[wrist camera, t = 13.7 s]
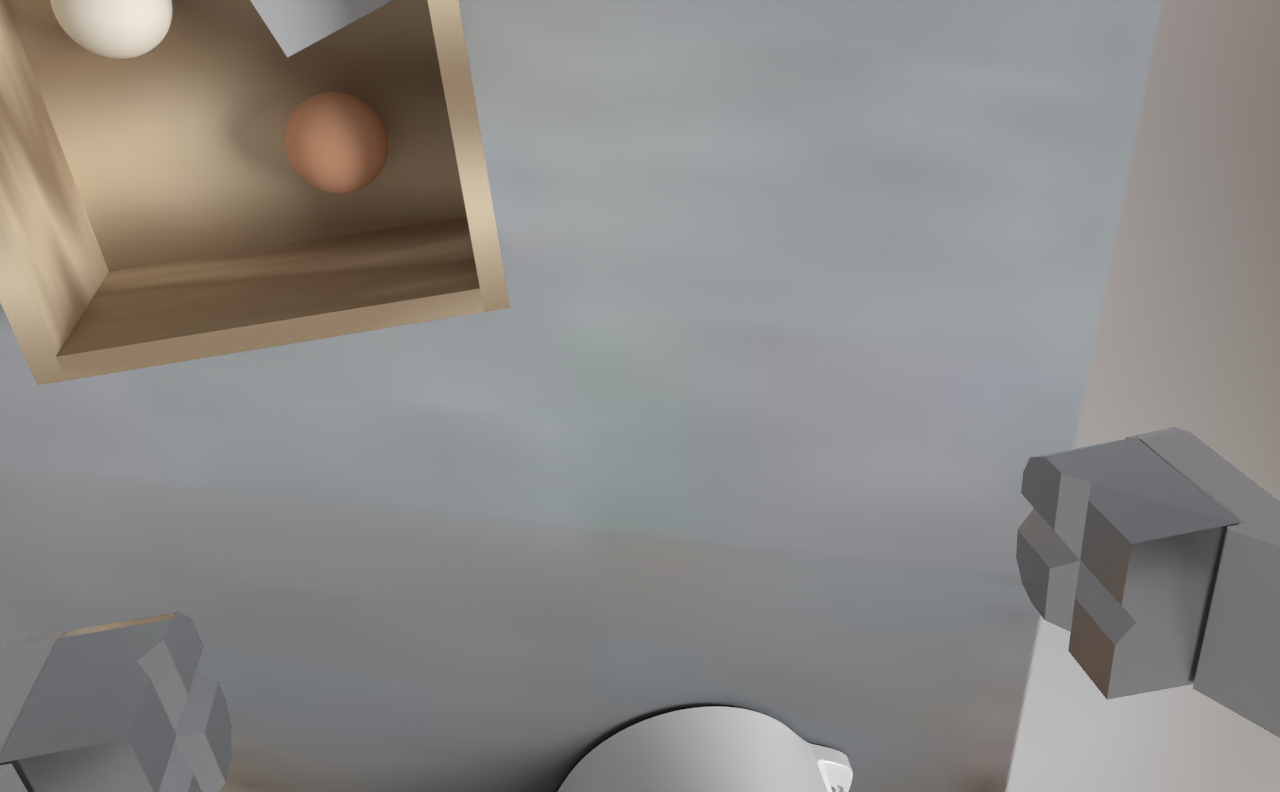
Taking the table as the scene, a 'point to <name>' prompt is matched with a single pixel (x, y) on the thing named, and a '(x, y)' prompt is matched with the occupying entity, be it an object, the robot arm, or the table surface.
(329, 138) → the ball terracotta
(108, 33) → the ball cream
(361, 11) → the grey block
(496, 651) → the table surface
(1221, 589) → the robot arm
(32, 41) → the box
